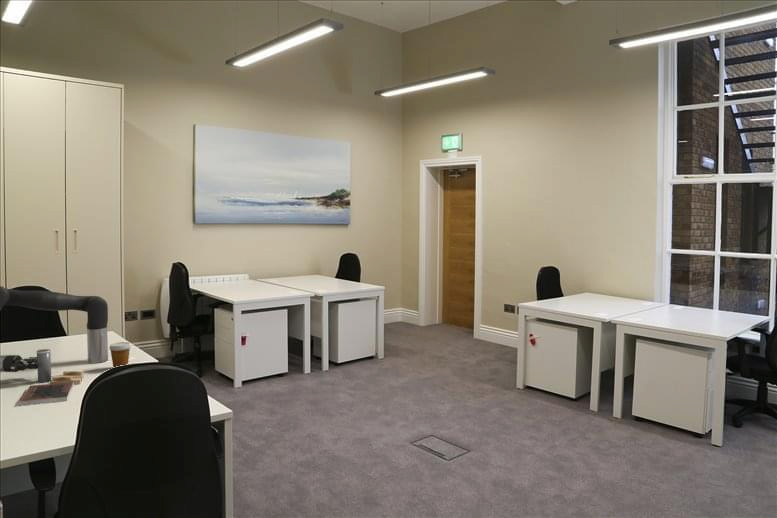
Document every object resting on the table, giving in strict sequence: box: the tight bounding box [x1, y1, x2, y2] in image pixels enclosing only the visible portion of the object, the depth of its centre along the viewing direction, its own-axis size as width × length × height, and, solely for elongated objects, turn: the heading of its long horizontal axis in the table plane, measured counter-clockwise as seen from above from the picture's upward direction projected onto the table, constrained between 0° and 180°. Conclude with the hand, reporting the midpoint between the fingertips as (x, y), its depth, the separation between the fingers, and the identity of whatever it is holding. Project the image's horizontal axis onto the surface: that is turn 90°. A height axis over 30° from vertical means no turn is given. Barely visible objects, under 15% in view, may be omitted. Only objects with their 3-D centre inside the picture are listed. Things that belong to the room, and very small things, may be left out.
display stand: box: [50, 370, 84, 386], centre depth 248 cm, size 12×11×4 cm
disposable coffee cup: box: [108, 341, 132, 367], centre depth 271 cm, size 10×10×12 cm
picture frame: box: [18, 382, 75, 407], centre depth 231 cm, size 16×2×22 cm
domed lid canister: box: [36, 348, 52, 384], centre depth 249 cm, size 5×5×14 cm
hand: (43, 363), depth 249 cm, fingers open, 8 cm apart
